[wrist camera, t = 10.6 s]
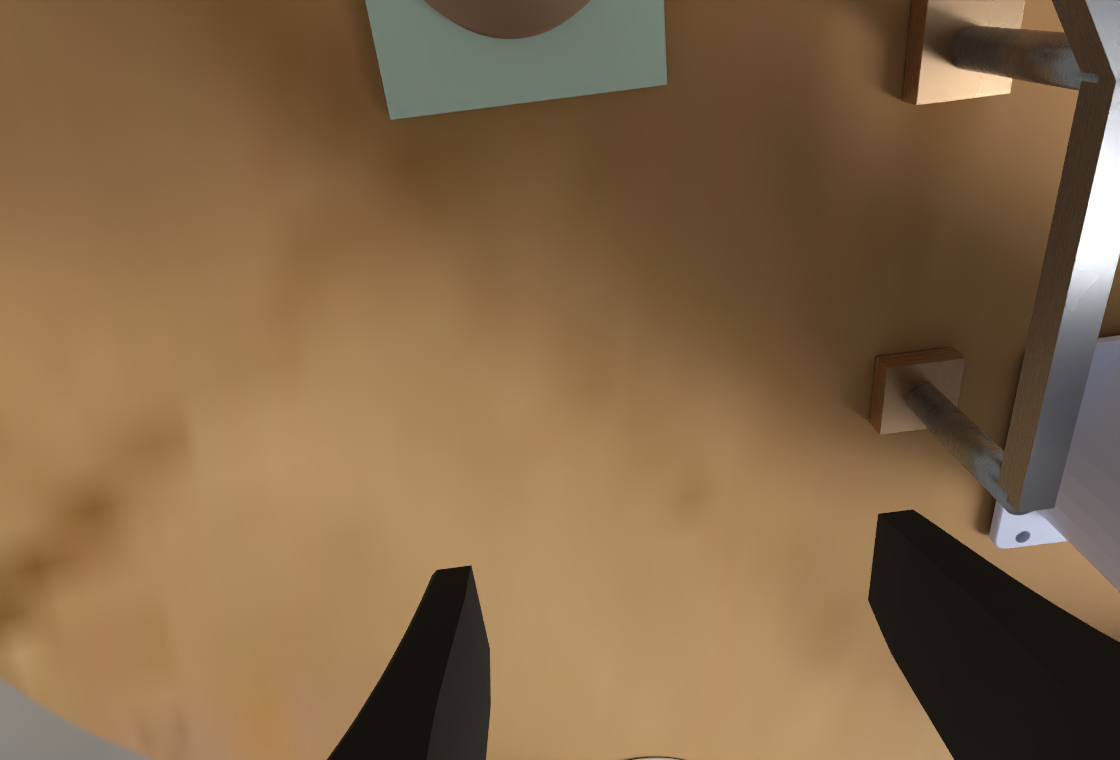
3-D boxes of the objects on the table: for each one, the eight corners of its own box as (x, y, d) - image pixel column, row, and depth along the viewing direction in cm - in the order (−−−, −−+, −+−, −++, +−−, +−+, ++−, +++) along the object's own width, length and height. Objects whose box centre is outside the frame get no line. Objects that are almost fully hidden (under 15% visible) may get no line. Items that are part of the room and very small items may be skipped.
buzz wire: (1078, -468, 15) (1439, -758, 9) (941, 412, 24) (1073, 542, 19) (707, -421, 15) (833, -680, 9) (718, 440, 24) (781, 579, 19)
